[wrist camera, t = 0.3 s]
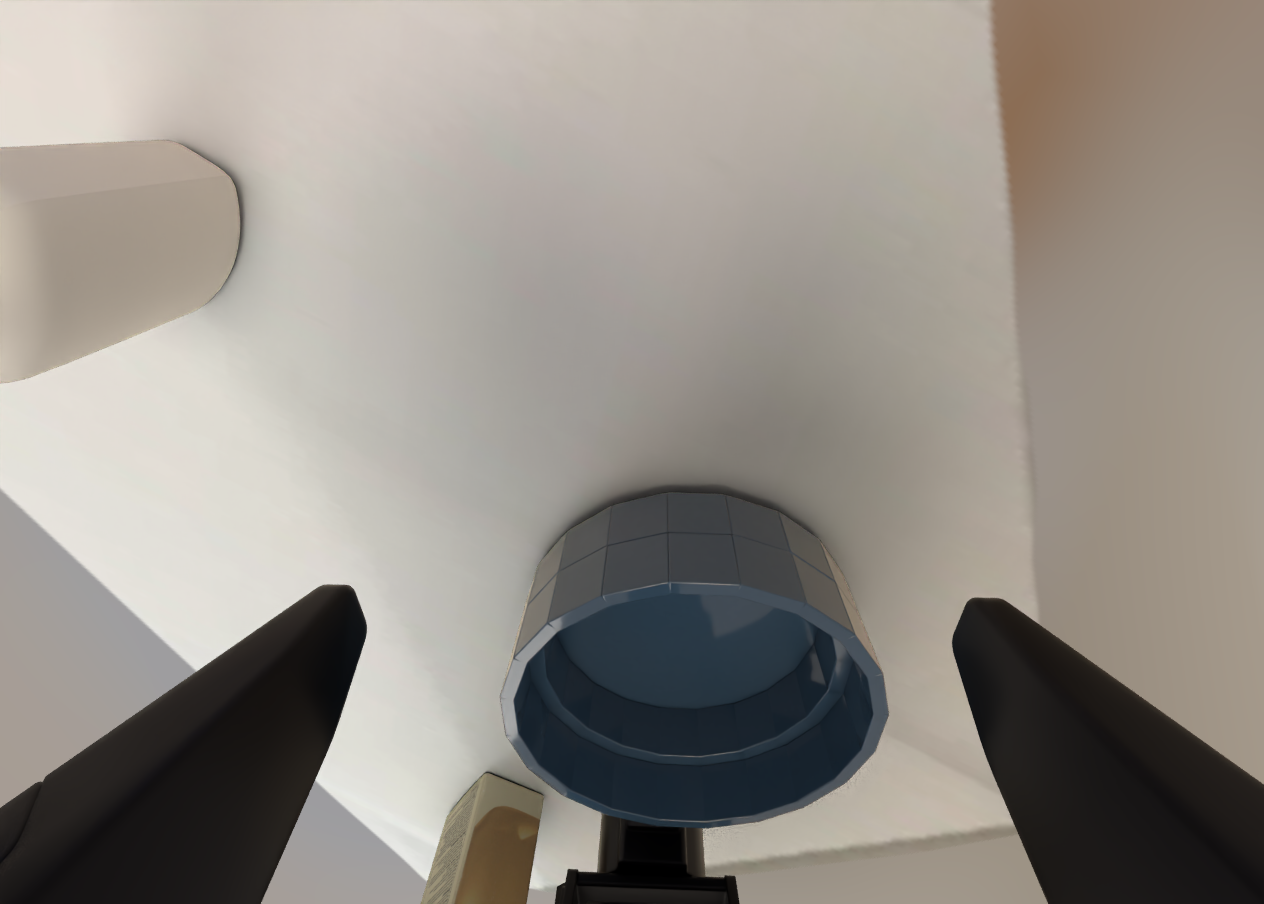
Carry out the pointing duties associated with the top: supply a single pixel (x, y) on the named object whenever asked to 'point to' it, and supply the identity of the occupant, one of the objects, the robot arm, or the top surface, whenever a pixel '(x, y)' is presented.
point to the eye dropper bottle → (106, 246)
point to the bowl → (692, 665)
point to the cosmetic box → (487, 846)
